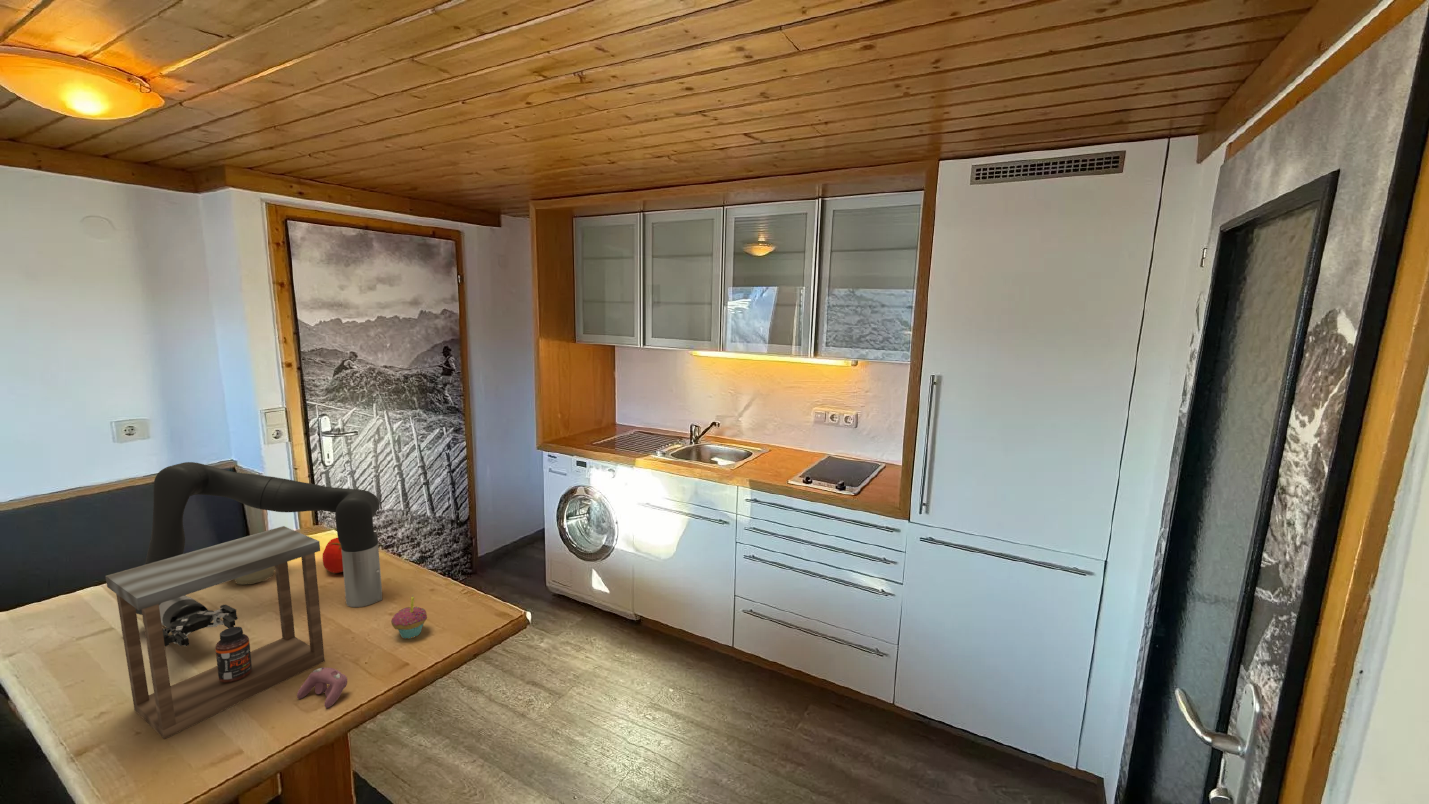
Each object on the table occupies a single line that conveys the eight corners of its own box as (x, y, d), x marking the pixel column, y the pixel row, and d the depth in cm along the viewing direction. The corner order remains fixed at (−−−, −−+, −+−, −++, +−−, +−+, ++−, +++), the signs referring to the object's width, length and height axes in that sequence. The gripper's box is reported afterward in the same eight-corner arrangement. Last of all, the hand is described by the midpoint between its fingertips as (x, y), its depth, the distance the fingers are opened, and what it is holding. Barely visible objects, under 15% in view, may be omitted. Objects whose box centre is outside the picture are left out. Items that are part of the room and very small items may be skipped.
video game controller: (343, 705, 127) (354, 672, 129) (325, 709, 123) (337, 675, 125) (311, 695, 130) (322, 663, 132) (292, 698, 126) (304, 665, 128)
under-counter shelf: (127, 712, 121) (105, 575, 116) (295, 638, 149) (283, 526, 144) (158, 743, 113) (136, 598, 108) (330, 659, 141) (319, 541, 135)
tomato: (319, 568, 188) (317, 538, 186) (365, 556, 197) (363, 528, 195) (328, 583, 178) (325, 552, 176) (375, 570, 187) (373, 540, 186)
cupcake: (435, 630, 155) (432, 589, 153) (406, 646, 147) (404, 604, 145) (413, 622, 158) (411, 582, 156) (385, 637, 151) (382, 596, 149)
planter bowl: (260, 591, 172) (256, 558, 170) (208, 589, 172) (203, 556, 170) (299, 567, 188) (296, 536, 186) (251, 565, 188) (248, 535, 186)
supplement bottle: (233, 686, 127) (227, 640, 125) (212, 681, 129) (206, 636, 127) (259, 669, 133) (254, 625, 131) (238, 665, 134) (233, 622, 132)
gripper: (141, 613, 136) (168, 633, 128) (215, 588, 148) (244, 605, 140) (145, 641, 137) (173, 663, 129) (218, 614, 149) (247, 633, 141)
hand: (210, 633), depth 135 cm, fingers open, 8 cm apart
